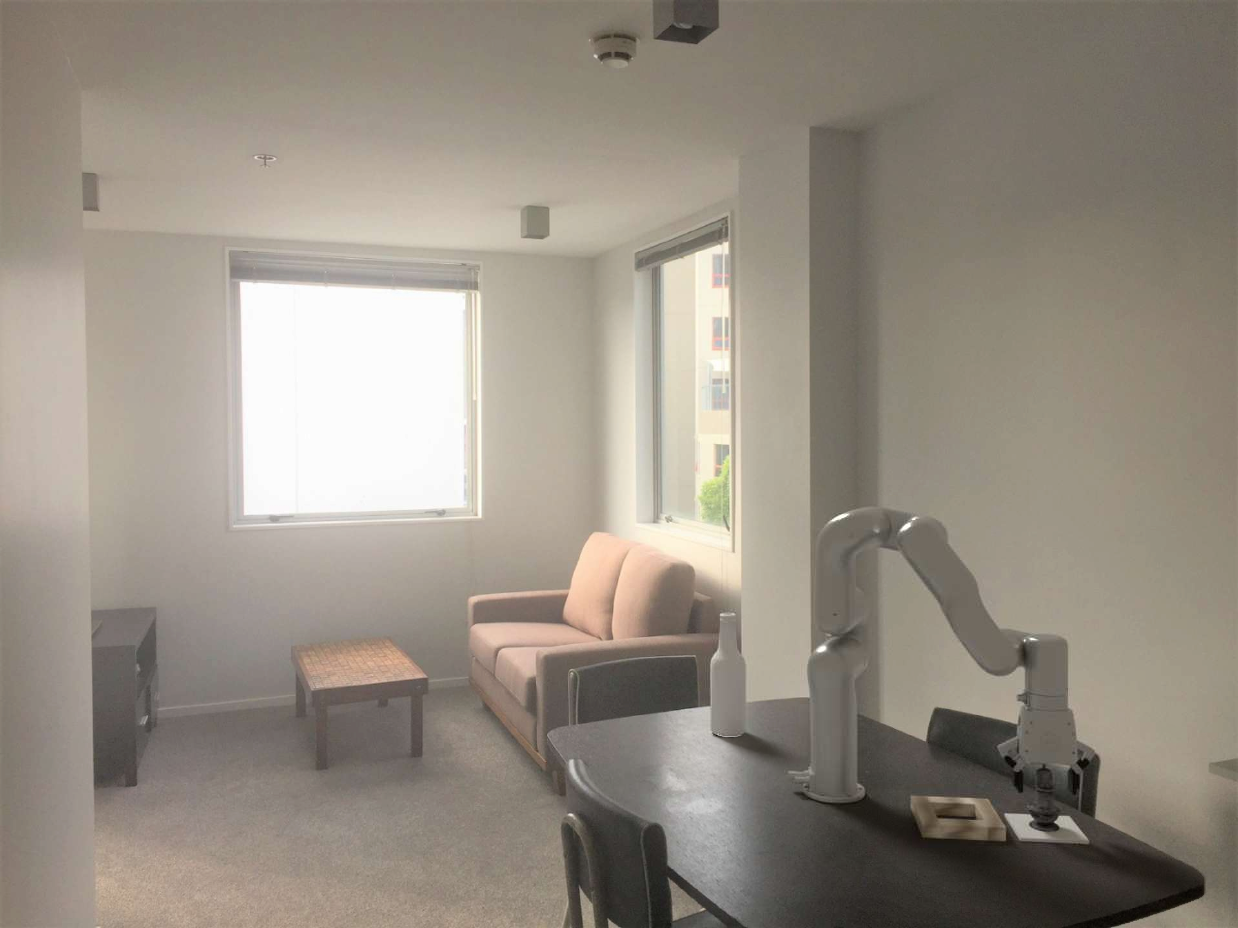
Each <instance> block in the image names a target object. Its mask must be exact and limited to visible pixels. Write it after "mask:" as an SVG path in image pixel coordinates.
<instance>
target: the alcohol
mask: <svg viewBox="0 0 1238 928" xmlns="http://www.w3.org/2000/svg"><path fill="white" fill-rule="evenodd" d="M719 617H720V618H719V621H720V622H719V623H720V624H719V633H718V634H719V637H718V647H717V651H715V653H714V654H713V656H712V657H711V659H710V664H709V665H710V667H709V668H710V669H709V674H710V677H709V678H710V680H709V681H710V682H709V684H710V690H709V691H710V731H711V732H713V733H715V734H719V735H722V736H738V735H742V734H745V733H746V731H747V666H746V665H747V664H746V661H745V658H744V656H743V654H742V653H741V652H740V651H739V648H738V638H737V625H736V624H737V623H736V621H737V620H736V617H737V615H736V614H735V613H734V612H722V613H720V614H719ZM713 733H712V734H713ZM742 736H743V735H742Z"/></svg>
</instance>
